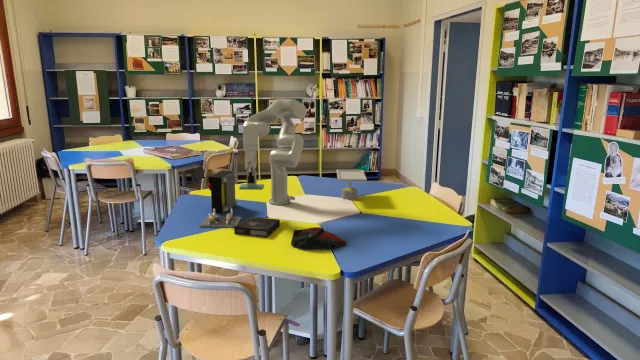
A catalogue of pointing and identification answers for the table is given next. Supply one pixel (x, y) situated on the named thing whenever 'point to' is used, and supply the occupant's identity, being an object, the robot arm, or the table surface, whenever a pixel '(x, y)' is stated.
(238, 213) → the table surface
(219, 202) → the electrical component
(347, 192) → the solar panel model
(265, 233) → the portable cd player
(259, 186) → the board
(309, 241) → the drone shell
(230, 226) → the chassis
